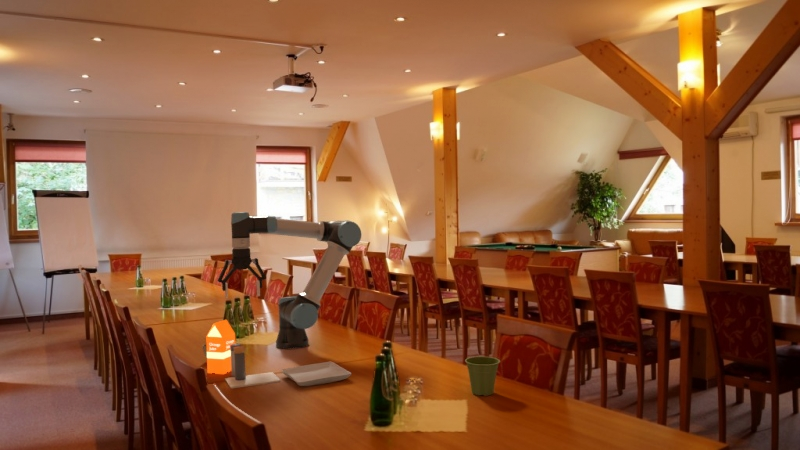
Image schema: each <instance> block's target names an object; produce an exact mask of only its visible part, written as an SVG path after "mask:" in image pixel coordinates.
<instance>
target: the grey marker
mask: <svg viewBox="0 0 800 450" xmlns="http://www.w3.org/2000/svg"><path fill="white" fill-rule="evenodd" d="M237 346H242V344H241V343H235V344H231V345H230V351H231V371H230V372H231V375H230V376H231V377H235V360H234V347H237Z"/></svg>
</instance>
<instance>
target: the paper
mask: <svg viewBox="0 0 800 450" xmlns="http://www.w3.org/2000/svg"><path fill="white" fill-rule="evenodd" d="M224 380H225V382H226V383H227V385H228V387H229V388H230V389H231V390H232V389H237V388H238V389H239V388H244V387H252V386H258V385H259V386H260V385H265V384H266V385H268V384H274V383H280V382H281V379H280V378H279V377H278V376H277V375H276V374H275V373H274V372H273V371H270V372H263V373H253V374H248V375H246V379H244V380H235V377H232V376H231V377H227V378H226V377H225V378H224Z"/></svg>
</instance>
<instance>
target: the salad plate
mask: <svg viewBox="0 0 800 450" xmlns="http://www.w3.org/2000/svg"><path fill="white" fill-rule="evenodd" d="M280 371H281V372H282V374H283V375H284V376H286V377H288V378H289V379H291V380H292V382H293V381H294V382H295V383H296V384H297V385H298V386H300V387H310V386H312V387H313V386H318V385H324V384H330V383H335V382H339V381H343V380H346V379H348V378H349V377H350V376H351V375H352V372H351V371H349V370H347V369H345V368H344V367H342V366H340V365H338V364H337V363H335V362H334V361H326V362H318V363H312V364H305V365H300V366H294V367H288V368H284V369H281V370H280Z"/></svg>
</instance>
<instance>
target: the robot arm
mask: <svg viewBox="0 0 800 450" xmlns="http://www.w3.org/2000/svg"><path fill="white" fill-rule="evenodd" d="M230 219H231V221H230V224H231V247H232V250H231V252H232V258H231V260H229V259H224V265H223V268H222V270H221V272H220V274H219V276H218V278H217V282H218V283H221V285H222V286H221V290H222V291H223V292H224V298H225V299H226V300H227V299H229V290H228V289H229V288H228V287H229V286H228V282H227V281H228V280H229V279H230V278H231V276H232V275H233V274H234V272H236V271H237V270H238V271H240V270H241V271H242V270H247V269H248V271H250V273H251V274H253V276H254V277H255V278H256V279H257V280H256V296H257V297H261V289H262V288H263V281H264V280H266V279H267V276H266V274H265V272H264V271H263V269H262V267H261V265H260V263H259V259H258V258H257V257H255V258H251V248H250V247H251V236H250V235H251V234H266V235H267V234H269V235H277V236H278V235H279V236H288V237H297V238H306V239H307V238H308V239H316V240H317V242H324V243H326V244H327V248H326V250H325V252H324V253H323V255H322V257H321V258H320V260H319V261H318V264H317V266H316V267H315V268H314V269H315V270H314V271H313V273H312V275H311V277H310V279H309V280H308V282H307V284H306V286H305V288H304V289H303V291H302V292H300V293H297V294H296V296H285V297H280V298H279V299H278V305H277V306H278V324H279V328H278V329H279V330H278V332H277V333H278V334H277V337H276V340H275V346H276V348H278V349H284V350H286V349H289V350H290V349H301V348H305V347H307V346H309V344H310V342H309V340H310V339H309V337H308V334H307V332H306V330H307V329H310V328H312V327H313V326H314V325H315V324H316V323H317V321H318V318H319V309H320V308H321V306H322V305H321V302H320V301H321V299H322V297H323V295H324V293H325V292H326V289H327V288H328V286H329V284H330V282H331V281H332V279H333V277H334V276H335V273H336V271H337V270H338V268H339V266H340V264H341V262H342V261H343V259H344V257H345V256H346V255H349V254H350V253H351V251H352V249H353V247H355V246H357V245H358V244H359V243H360V242H361V239H362V230H361V228H360V226H359V225H358V224H357V223H356V222H354V221H351V220H332V221H330V220H329V221H323V220H319V221H318V222H314V221H304V220H295V219H285V218H277V217H276V216H274V215H250V213H249V212H248V211H242V212H241V211H236V212H234V211H233V212H232V213H231V217H230ZM251 263H252V264H254V265H255V268H257V271H258V272H259V274H260V275H259V274H258V273H257V271H255V269H254V268H253V267H252V266H251ZM230 265H233V266H232V268H231V269H230V270H229V272H228V273H227V274H226V272H227V270H228V268H229V266H230ZM225 274H226V275H225Z"/></svg>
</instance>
